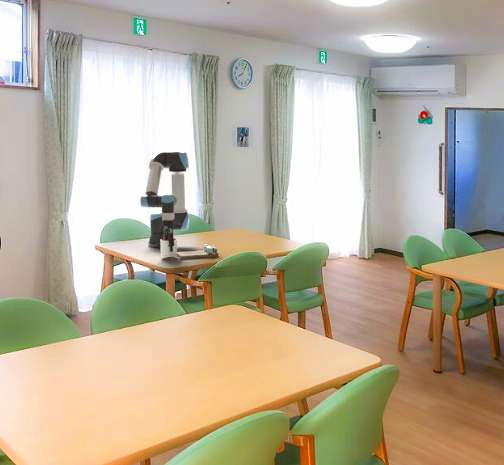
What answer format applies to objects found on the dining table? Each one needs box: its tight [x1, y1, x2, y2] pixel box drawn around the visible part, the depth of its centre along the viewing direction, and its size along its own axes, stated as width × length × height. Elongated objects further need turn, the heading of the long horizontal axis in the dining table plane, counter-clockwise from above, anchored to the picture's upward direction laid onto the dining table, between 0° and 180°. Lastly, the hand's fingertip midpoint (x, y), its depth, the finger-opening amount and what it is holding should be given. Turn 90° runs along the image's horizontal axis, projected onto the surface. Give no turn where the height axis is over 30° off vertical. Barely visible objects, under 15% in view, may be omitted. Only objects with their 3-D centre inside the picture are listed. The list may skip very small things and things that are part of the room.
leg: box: [203, 243, 213, 253], centre depth 393 cm, size 12×3×4 cm, turn 17°
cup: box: [160, 237, 178, 258], centre depth 384 cm, size 10×10×10 cm
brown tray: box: [175, 245, 219, 260], centre depth 391 cm, size 14×24×5 cm, turn 112°
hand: (168, 254), depth 384 cm, fingers closed on cup, 10 cm apart
